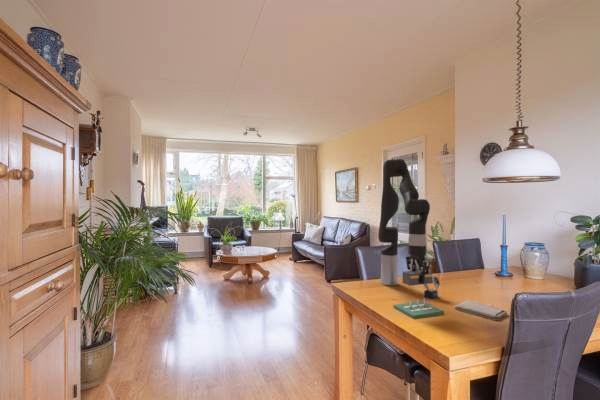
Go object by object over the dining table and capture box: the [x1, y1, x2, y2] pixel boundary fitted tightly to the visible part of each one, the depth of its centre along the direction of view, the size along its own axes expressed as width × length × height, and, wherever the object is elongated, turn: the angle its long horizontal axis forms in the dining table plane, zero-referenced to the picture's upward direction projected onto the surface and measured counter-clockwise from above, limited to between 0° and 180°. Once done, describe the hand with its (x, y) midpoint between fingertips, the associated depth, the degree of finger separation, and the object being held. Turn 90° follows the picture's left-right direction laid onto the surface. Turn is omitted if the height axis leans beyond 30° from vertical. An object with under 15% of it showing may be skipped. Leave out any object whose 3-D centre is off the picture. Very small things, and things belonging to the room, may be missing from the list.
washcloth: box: [454, 299, 508, 321], centre depth 141 cm, size 12×18×3 cm, turn 38°
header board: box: [392, 298, 445, 319], centre depth 143 cm, size 14×16×5 cm
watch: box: [422, 274, 441, 300], centre depth 162 cm, size 6×8×11 cm
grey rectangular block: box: [402, 269, 433, 287], centre depth 143 cm, size 12×5×5 cm, turn 108°
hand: (417, 281), depth 143 cm, fingers closed on grey rectangular block, 5 cm apart
